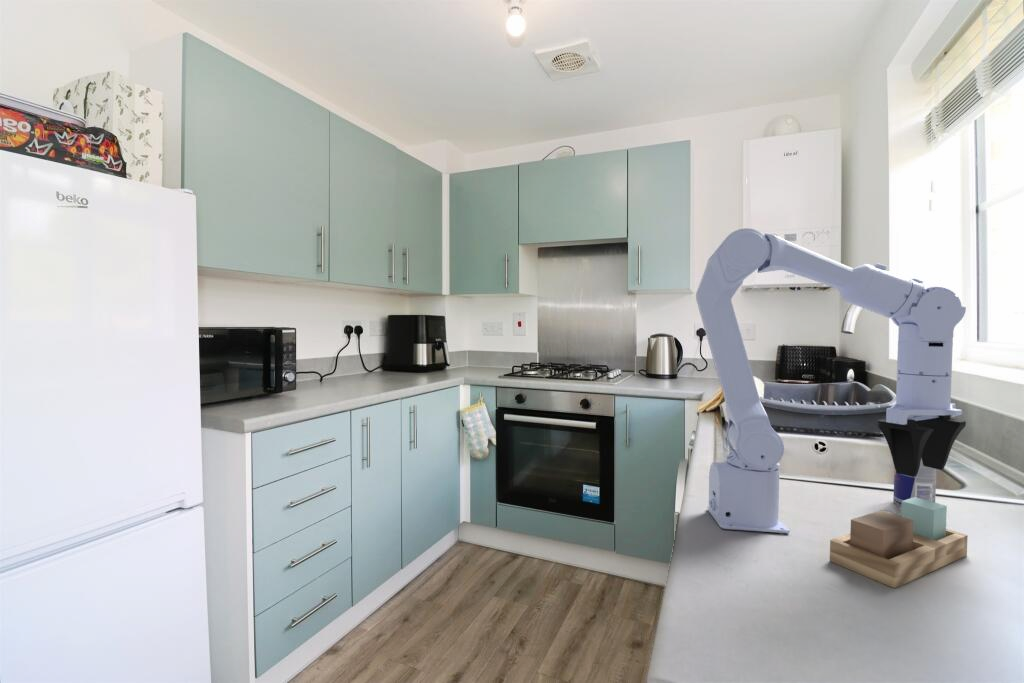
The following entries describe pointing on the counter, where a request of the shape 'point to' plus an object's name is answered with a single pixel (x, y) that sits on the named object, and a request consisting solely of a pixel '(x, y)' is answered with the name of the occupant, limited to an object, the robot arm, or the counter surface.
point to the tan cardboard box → (882, 534)
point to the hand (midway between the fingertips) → (920, 471)
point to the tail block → (926, 517)
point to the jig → (900, 558)
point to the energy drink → (915, 485)
